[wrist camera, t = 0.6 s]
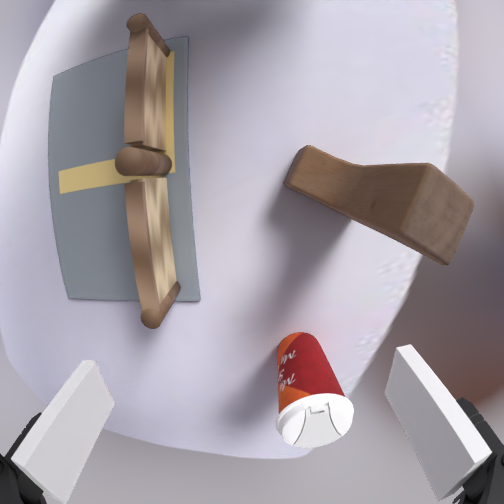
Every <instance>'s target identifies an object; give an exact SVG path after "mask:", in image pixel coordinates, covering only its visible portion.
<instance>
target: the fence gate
mask: <svg viewBox="0 0 504 504" xmlns="http://www.w3.org/2000/svg"><path fill="white" fill-rule="evenodd" d="M124 187H125V200H126V211H127V220H128V229H129V237H130V245H131V252H132V259H133V265H134V271H135V277H136V283H137V288H138V293H139V298H140V303H141V308H142V314H141V321H142V323H143V324H144V325H145V326H146V327H148V328H151V329H155V328H158V327H159V326H160V324H161V322H162V321H163V319H164V317H165V316H166V314H167V312H168V311H169V309H170V307H171V306H172V304H173V302H174V301H175V299H176V297H177V296H178V294H179V292H180V290H181V286H180V283H179V282H178V281H177V279H176V272H175V264H174V255H173V247H172V237H171V227H170V216H169V204H168V190H167V178H144V179H135V180H130V183H126V184H124Z"/></svg>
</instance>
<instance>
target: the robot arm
mask: <svg viewBox="0 0 504 504" xmlns="http://www.w3.org/2000/svg"><path fill="white" fill-rule="evenodd" d="M385 395H386V397H387V399H388V401H389V403H390V404H391V406H392V408H393V410H394V412H395V414H396V416H397V418H398V420H399V421H400V423H401V425H402V427H403V429H404V431H405V433H406V435H407V437H408V439H409V441H410V443H411V445H412V447H413V449H414V451H415V453H416V455H417V458H418V460H419V462H420V464H421V466H422V468H423V470H424V472H425V474H426V476H427V478H428V481H429V483H430V485H431V487H432V489H433V492H434V494H435V496H436V498H437V501H440V500H442V499H444V498H446V497H448V496H450V495H452V494H454V493H455V492H456V491H457V490H458V489H459V488H460V487H461V486H463V488H464V491H463V492H461V493H460V494H459V495H458V496H457V497H456V498H455V499H454V501H453V504H454V503H456V502H457V501H458V500H459V499H460V501H459V503H458V504H504V445H503V444H502V443H501V441H500V440H499V438H498V437H497V436H496V434H495V433H494V432H493V430H492V429H491V428H490V426H489V425H488V423H487V422H486V421H484V418H483V417H482V415H481V414H479V412H478V410H477V409H476V408H475V406H474V405H473V404H472V403H471V402H469V401H467V400H466V399H464V398H463V397H462V398H460V399H458V400H455V399H454V398H453V397H452V395H451V394H450V393H449V391H448V390H447V389H446V387H445V386H444V385H443V384H442V382H441V381H440V380H439V378H438V377H437V376H436V375H435V374H434V372H433V371H432V370H431V368H430V367H429V366H428V365H427V363H426V362H425V361H424V360H423V359H422V357H421V356H420V355H419V354H418V353H417V351H416V350H415V349H414V348H413V346H412V345H406V346H402V347H397V348H396V351H395V356H394V360H393V364H392V368H391V372H390V375H389V379H388V383H387V386H386V390H385ZM114 406H115V402H114V400H113V398H112V396H111V394H110V392H109V390H108V388H107V385H106V383H105V381H104V379H103V377H102V374H101V372H100V370H99V367H98V365H97V362H96V361H89V360H83V361H82V362H81V364H80V365H79V366H78V367H77V369H76V370H75V371H74V372H73V374H72V375H71V376H70V377H69V379H68V380H67V381H66V382H65V384H64V385H63V386H62V388H61V389H60V390H59V392H58V393H57V394H56V396H55V397H54V398H53V399H52V401H51V402H50V403H49V405H48V406H47V408H46V409H45V410H44V412H43V413H39V414H37V415H36V416H34V417H33V418H32V419H31V420H30V421H29V423H28V424H27V426H26V428H24V430H23V431H22V434H20V435H19V437H18V438H17V440H16V441H15V443H14V444H13V446H12V447H11V448H10V450H9V452H8V453H7V454H6V456H5V457H3V456H2V455H1V454H0V504H47V503H46V500H45V498H44V496H43V495H42V493H43V492H45V493H46V494H47V495H48V496H50V497H51V498H52V499H54V500H56V501H58V502H60V503H62V504H67V501H68V499H69V497H70V495H71V492H72V490H73V488H74V486H75V484H76V482H77V479H78V477H79V475H80V473H81V471H82V469H83V466H84V465H85V462H86V460H87V458H88V456H89V454H90V452H91V450H92V448H93V446H94V444H95V442H96V440H97V438H98V436H99V434H100V432H101V430H102V428H103V426H104V425H105V423H106V421H107V419H108V417H109V415H110V413H111V411H112V409H113V407H114Z"/></svg>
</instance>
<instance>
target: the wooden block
mask: <svg viewBox="0 0 504 504" xmlns="http://www.w3.org/2000/svg"><path fill="white" fill-rule="evenodd" d="M284 184H285V186H287V187H289V188H291V189H293V190H295V191H297V192H299V193H301V194H303V195H305V196H307V197H309V198H311V199H313V200H315V201H317V202H319V203H321V204H323V205H325V206H327V207H329V208H331V209H333V210H335V211H337V212H339V213H341V214H343V215H345V216H346V217H348V218H350V219H352V220H354V221H357V222H359V223H361V224H363V225H365V226H367V227H369V228H371V229H374V230H376V231H378V232H380V233H382V234H384V235H386V236H388V237H390V238H392V239H394V240H396V241H398V242H400V243H402V244H404V245H406V246H408V247H410V248H412V249H413V250H415V251H417V252H419V253H421V254H423V255H425V256H427V257H429V258H430V259H432V260H434V261H436V262H438V263H439V264H441V265H449V263H450V262H451V260H452V258H453V256H454V254H455V252H456V250H457V247H458V245H459V243H460V241H461V238H462V236H463V234H464V231H465V229H466V226H467V224H468V221H469V218H470V216H471V213H472V211H473V208H474V201H473V200H472V199H471V198H470V197H469V196H468V195H467V194H466V193H465V192H464V191H463V190H462V189H461V188H460V187H459V186H457V185H456V184H455V183H454V182H453V181H452V180H451V179H450V178H448V177H447V176H446V175H445V174H444V173H442V172H441V171H440V170H439V169H438V168H436V167H435V166H434V165H433V164H430V163H405V164H382V165H366V166H363V165H357V164H352V163H350V162H347V161H344V160H342V159H339V158H336V157H334V156H332V155H330V154H328V153H326V152H323V151H321V150H319V149H317V148H315V147H313V146H311V145H306V146H305V147H303V148H301V149H300V150H299V151H298V153H297V155H296V157H295V159H294V161H293V163H292V166H291V168H290V170H289V172H288V174H287V176H286V178H285V181H284Z"/></svg>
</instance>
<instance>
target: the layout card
mask: <svg viewBox="0 0 504 504" xmlns="http://www.w3.org/2000/svg"><path fill="white" fill-rule="evenodd" d="M164 42H165V43H166V44H167V46H168V47H169V49H170V54H169V56H168V57H167V63H166V151H162V152H157V153H161V154H165V155H168V156H169V157H170V158H171V160H172V168H171V170H170V172H169V173H168V174H166V175H163V176H123V175H121V174H119V173H118V172H117V170H116V168H115V158H116V155H117V154H118V152H119V151H120V150H121V149H123V148H125V147H130V144H125V142H124V113H125V85H126V70H127V58H128V49H126V50H122V51H119V52H116V53H112V54H109V55H106V56H103V57H100V58H97V59H95V60H92V61H89V62H86V63H84V64H81V65H79V66H76V67H74V68H71V69H69V70H66V71H64V72H62V73H60V74H57V75H55V76H53V83H52V91H51V100H50V113H49V132H48V167H49V187H50V199H51V209H52V218H53V226H54V233H55V239H56V245H57V251H58V256H59V261H60V266H61V271H62V275H63V280H64V284H65V288H66V292H67V296H68V298H73V299H95V300H126V301H140V298H139V293H138V288H137V283H136V277H135V271H134V265H133V259H132V252H131V245H130V237H129V229H128V220H127V211H126V200H125V187H124V184H126V183H130V180H135V179H144V178H167V190H168V204H169V216H170V227H171V237H172V247H173V255H174V264H175V272H176V279H177V281H178V282H179V283H180V286H181V290H180V292H179V294H178V296H177V297H176V299H175V301H200V299H201V298H200V290H199V281H198V272H197V262H196V252H195V241H194V229H193V216H192V202H191V187H190V168H189V145H188V96H187V81H188V36H185V37H179V38H173V39H168V40H164ZM134 148H135V147H134ZM143 150H144V149H143ZM148 151H149V150H148ZM152 152H153V151H152Z"/></svg>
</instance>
